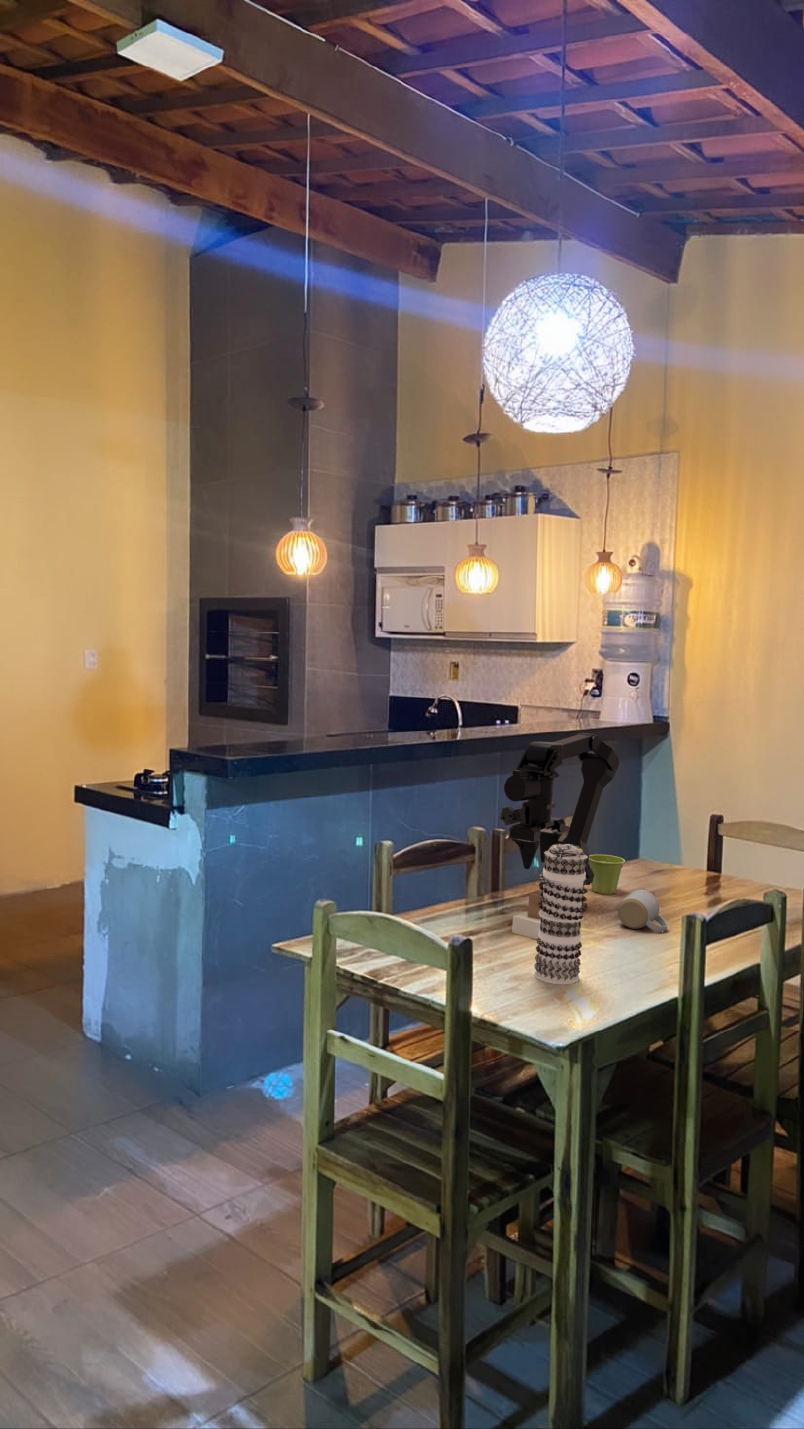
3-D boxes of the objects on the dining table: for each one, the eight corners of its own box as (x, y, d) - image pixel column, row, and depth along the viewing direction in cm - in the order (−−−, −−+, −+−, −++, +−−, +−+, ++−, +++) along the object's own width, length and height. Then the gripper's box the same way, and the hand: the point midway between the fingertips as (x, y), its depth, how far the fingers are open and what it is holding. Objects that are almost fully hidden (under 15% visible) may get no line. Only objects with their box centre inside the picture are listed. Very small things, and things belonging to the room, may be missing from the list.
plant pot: (625, 897, 257) (628, 863, 257) (588, 895, 257) (591, 861, 257) (618, 888, 267) (621, 855, 266) (582, 886, 267) (585, 853, 266)
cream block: (534, 926, 227) (535, 908, 227) (569, 935, 222) (570, 917, 221) (511, 934, 220) (513, 916, 220) (547, 944, 215) (548, 925, 214)
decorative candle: (543, 965, 199) (552, 839, 197) (588, 975, 194) (598, 846, 192) (524, 977, 191) (533, 846, 189) (570, 988, 186) (580, 854, 184)
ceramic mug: (614, 926, 230) (617, 893, 229) (625, 918, 237) (628, 886, 236) (661, 936, 225) (664, 902, 224) (671, 928, 232) (674, 895, 231)
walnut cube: (536, 911, 224) (538, 889, 224) (558, 916, 222) (559, 893, 221) (527, 916, 220) (529, 893, 220) (549, 921, 218) (550, 898, 217)
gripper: (524, 789, 243) (520, 853, 244) (489, 797, 227) (484, 866, 229) (568, 795, 238) (563, 861, 239) (535, 804, 222) (530, 874, 223)
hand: (535, 865), depth 232 cm, fingers open, 9 cm apart
